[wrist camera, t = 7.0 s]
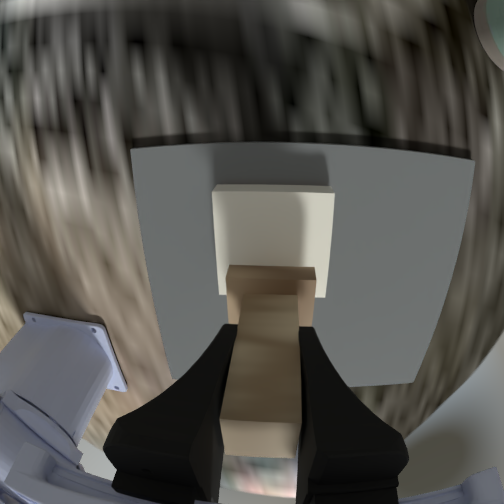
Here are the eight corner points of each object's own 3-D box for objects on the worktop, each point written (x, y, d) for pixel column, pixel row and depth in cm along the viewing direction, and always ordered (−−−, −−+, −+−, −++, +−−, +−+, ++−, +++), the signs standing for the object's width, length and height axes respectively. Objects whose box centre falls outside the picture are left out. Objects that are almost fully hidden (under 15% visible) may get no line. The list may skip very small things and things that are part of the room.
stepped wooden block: (233, 329, 17) (205, 461, 10) (229, 264, 15) (189, 400, 8) (307, 332, 17) (314, 466, 10) (314, 266, 15) (333, 407, 8)
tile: (219, 294, 18) (211, 191, 16) (223, 279, 20) (218, 183, 17) (325, 297, 18) (334, 193, 15) (322, 281, 19) (329, 184, 17)
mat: (173, 374, 25) (172, 378, 25) (134, 147, 17) (130, 149, 17) (411, 378, 23) (413, 382, 23) (471, 159, 16) (475, 161, 15)
